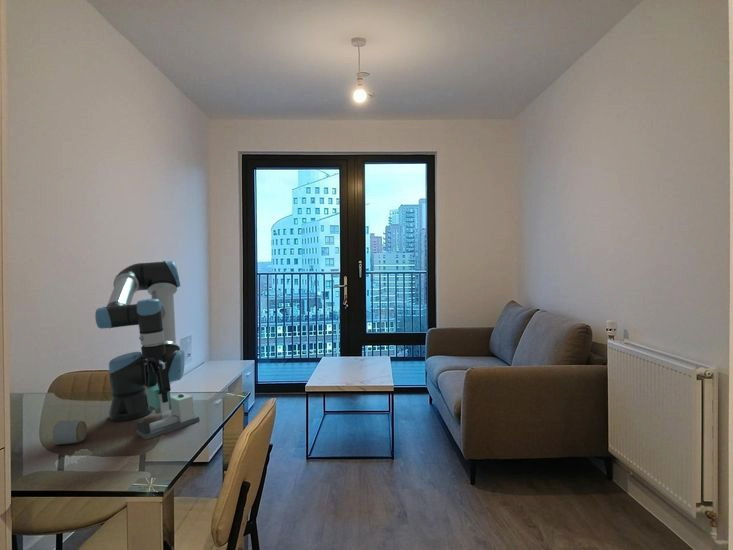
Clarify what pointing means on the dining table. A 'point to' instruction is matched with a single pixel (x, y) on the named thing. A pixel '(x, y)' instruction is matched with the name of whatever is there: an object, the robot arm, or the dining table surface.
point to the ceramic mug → (69, 432)
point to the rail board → (171, 418)
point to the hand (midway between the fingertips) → (159, 409)
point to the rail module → (155, 399)
